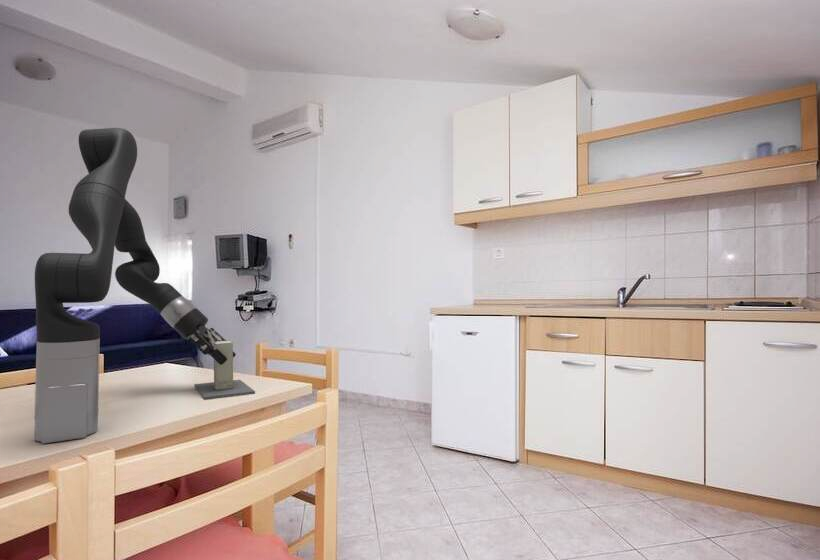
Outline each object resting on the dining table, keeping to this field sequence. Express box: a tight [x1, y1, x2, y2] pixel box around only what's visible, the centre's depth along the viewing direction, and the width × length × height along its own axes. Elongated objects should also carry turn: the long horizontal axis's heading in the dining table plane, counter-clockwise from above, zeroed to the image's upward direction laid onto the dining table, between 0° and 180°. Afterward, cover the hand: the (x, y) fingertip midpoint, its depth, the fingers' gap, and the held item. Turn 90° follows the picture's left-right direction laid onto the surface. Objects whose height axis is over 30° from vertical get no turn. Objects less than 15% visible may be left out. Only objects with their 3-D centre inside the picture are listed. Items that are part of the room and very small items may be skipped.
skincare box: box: [213, 340, 234, 390], centre depth 118 cm, size 6×4×12 cm
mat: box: [193, 379, 256, 401], centre depth 118 cm, size 18×12×1 cm, turn 33°
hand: (229, 359), depth 118 cm, fingers open, 8 cm apart
